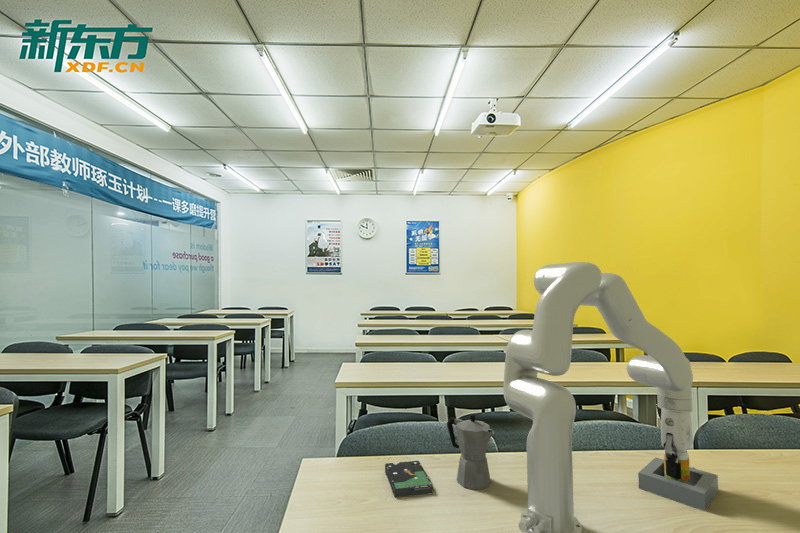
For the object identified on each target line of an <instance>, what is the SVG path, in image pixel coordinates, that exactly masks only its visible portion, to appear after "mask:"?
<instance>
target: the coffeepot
mask: <svg viewBox="0 0 800 533" xmlns="http://www.w3.org/2000/svg"><path fill="white" fill-rule="evenodd" d="M476 416H477V415H476V414H474V413H471V414H469V418H470V419H466V420H463V419H461V418H458V417H457V418H456V417H453V416H451V417H450V418H449V419H448V420H447V422H446V426H447V427H446V428H447V430H448V433H449V438H450V442H451V445H452V447H454V448H456V449H459V450H460V457H459V462H458V468H457V475H456V482H457V483H458V484H459V485H460V486H462V487H463V488H465V489H469V490H474V491H475V490H479V491H480V490H484V489H486V488H488V487H489V486H490V482H491V476H490V475H491V474H490V470H489V464H488V458H487V456H486V455H487V454H486V453H487V451H488V444H489V442H490V440H491V438H492V437H493V435H495V434H496V433H495V431H494V430H493V429H491V425H489V424H488V423H486V422H484V421H482V420H476ZM454 426H455V429H456V435H457V441H458V442H457V443H458V444H457V443H456V435H455V433H454Z"/></svg>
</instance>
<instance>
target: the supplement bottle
mask: <svg viewBox="0 0 800 533" xmlns="http://www.w3.org/2000/svg"><path fill="white" fill-rule="evenodd" d="M672 449H675V450H677V448H676V447H672ZM672 452H673V451H672ZM673 454H675V457H676V452H673ZM663 460H664V467H665V477H666V478H670V479H673V480H676V481H679V482H682V483H686V484H690V469H689V467H690V456H689V453H688V452H687V453H686V452H684V453H681V451H680V455H679V463H681V479H676V478H673V477H670V476H667V475H666V461H665V449H664V450H663Z"/></svg>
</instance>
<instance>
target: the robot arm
mask: <svg viewBox="0 0 800 533" xmlns="http://www.w3.org/2000/svg"><path fill="white" fill-rule="evenodd" d="M533 285H534V288H535V290H536V291H537V293H538V294H539V295H541V296H539V298H538V301H537V303H536V306H535V310H534V316H533V324H532V329H521V330H518V331H517V332H515V333H513V335H512V336H511V337H510V338H509V340H508V342H507V345H506V348H505V349H506V350H505V360H504V371H503V373H504V375H503V386H502V388H503V391H502V392H503V398H504V401H505V403H506V405H507V406H508V407H509V408H510V409H511V410H512V411H513V412H515V413H517V414H520V415H521V416H523V417H526V418H528V419H530V420H532V426H531V428H530V430H529V432H528V435H527V437H526V438H527V439H526V466H527V467H526V468H527V469H526V471H527V472H526V473H527V476H526V477H527V478H526V479H527V480H526V481H527V507H526V508H525V509H523V511H522V512H521V514H520V522H519V523H518V528H519V531H520V532H522V533H526V532H527V533H583V526H582V523H581V522H580V521H579V519H578V518H576V517H575V514H574V513H575V511H574V509H575V508H574V504H575V503H574V476H573V475H574V474H573V472H574V471H573V445H572V444H573V429H574V422H575V418H576V413H577V405H576V400H575V397H574V395H573V394H572V393H571V391H570V390H569V389H568V388H566V387H564V386H563V385H561V384H559V383H558V382H557V383H556V382H554V381H551V380H549V379H545V378H540V377H538V373H539V374H543V375H547V376H552V377H558V376H559V377H560V376H563V375H565V374H566V373H568V371H569V370H570V367H571V366H570V365H571V361H572V350H573V349H572V348H573V333H574V323H575V321H574V320H575V316H576V313H577V311H578V309H579V308H580V307H581V306H589V307H596V309H597V310H598V312H599V313H600V315H601V317H602V319H603V320H604V323H605V324H606V326H607V327H608V329H609V332H610V333H611V334H612V336H614V337H615V338H616V339H618V340H619V341H621V342H623V343H625V344H627V345H629V346H631V347H633V348H635V349H637V350H639V351H642V352H643V353H645V354H647V355H644V354H641V355H635V356H632V358H630V359H629V360H628V362H627V364H626V372H627V374H628V377H630V378H631V380H632V381H634V382H636V383H639V384H642V385H645V386H650V387H655V388H656V395H657V397H656V398H657V400H656V401H657V407H658V409H660V412H661V413H660V436H661V437H660V440H661V447H662V448H663V449H664V450H665V461H666V475H667V476H670V477H673V478H676V479H681V463H679V455H680V451H681V453H684V452H686V453H688V450H689V449H690V448H691V447H692V446H693V444H694V437H693V428H692V417H691V413H692V412H693V399H692V398H693V397H692V396H693V395H692V393H693V392H692V385H693V382H694V380H693V379H694V375H693V371H692V366H691V362H690V359H688V358H687V357H686V355H685V353H684V352H683V350H682V348H681V347H680V346H679V344H677V343H676V342H675V341H674V340H673V339H672V338H671V337H669V335H667V334H665V332H663V331H662V330H660V329H659V328H658V327H656V325H655V326H654V325H653V324H652V323H651V322H649V321H648V320H647V319H646V317H645V315H644V314H643V312H642V310H641V308H640V306H639V304H638V303H637V301H636V298H635V297H634V294H632V291H631V290H630V287H629V286H628V284H627V283H626V281H625V279H624V278H623V276H622V277H621V276H620V275H619V274H616V273H612V272H602V271H601V269H600V268H599V266H597V265H596V264H594V263H591V262H585V261H575V262H565V263H554V264H552V263H551V264H545V265H543V266H541V267H539V268H538V269H537V270H536V272H535V274H534V276H533ZM672 447H676V448H677V450H675V449H672ZM672 451H673V452H676V457H675V454H673V452H672Z"/></svg>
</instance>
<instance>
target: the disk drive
mask: <svg viewBox="0 0 800 533" xmlns="http://www.w3.org/2000/svg"><path fill="white" fill-rule="evenodd" d="M384 473H385V475H386V478H387V481H388V483H389V486H390V489H391V492H392V494H393V498H405V497H411V496H412V497H414V496H420V495H430V494H433V492H434V487H433V484H432V481H431V479H430V478H429V476H428V474H427V472H426V471H425V469H424V467H423V465H422V463H421V462H420V460H411V461H410V460H409V461H400V462H398V463H396V464H395V463H393V462H388V463H386V462H385V464H384Z"/></svg>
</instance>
